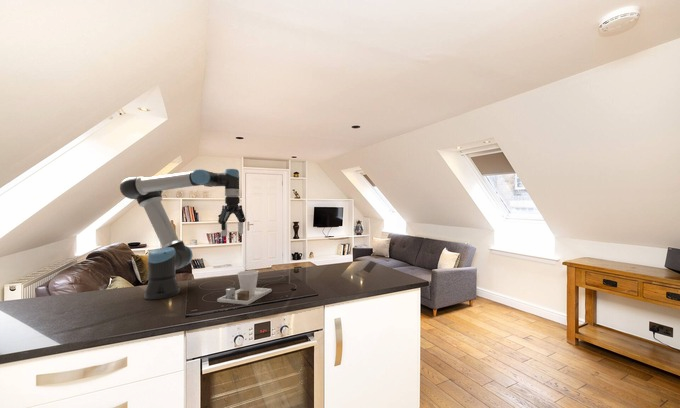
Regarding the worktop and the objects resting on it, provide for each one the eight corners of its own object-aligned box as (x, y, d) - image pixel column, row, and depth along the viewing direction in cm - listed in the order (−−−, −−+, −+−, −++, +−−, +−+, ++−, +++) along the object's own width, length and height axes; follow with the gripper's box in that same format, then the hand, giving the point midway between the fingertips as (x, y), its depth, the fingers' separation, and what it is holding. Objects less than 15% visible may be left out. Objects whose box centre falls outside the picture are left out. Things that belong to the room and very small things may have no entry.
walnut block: (237, 302, 127) (237, 293, 127) (240, 299, 131) (240, 290, 131) (246, 302, 127) (246, 293, 127) (249, 299, 131) (249, 290, 131)
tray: (217, 304, 128) (217, 298, 128) (244, 291, 147) (244, 286, 147) (247, 307, 123) (247, 301, 123) (271, 293, 142) (271, 288, 142)
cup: (255, 298, 132) (254, 274, 132) (234, 298, 132) (233, 275, 132) (261, 292, 142) (261, 270, 142) (242, 292, 142) (241, 270, 142)
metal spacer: (223, 300, 129) (223, 289, 129) (229, 297, 133) (229, 287, 133) (231, 301, 128) (231, 290, 128) (236, 298, 132) (236, 287, 132)
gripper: (222, 195, 145) (223, 237, 145) (251, 197, 169) (251, 232, 168) (210, 196, 147) (211, 237, 147) (240, 197, 171) (241, 232, 171)
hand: (232, 234), depth 158 cm, fingers open, 13 cm apart
